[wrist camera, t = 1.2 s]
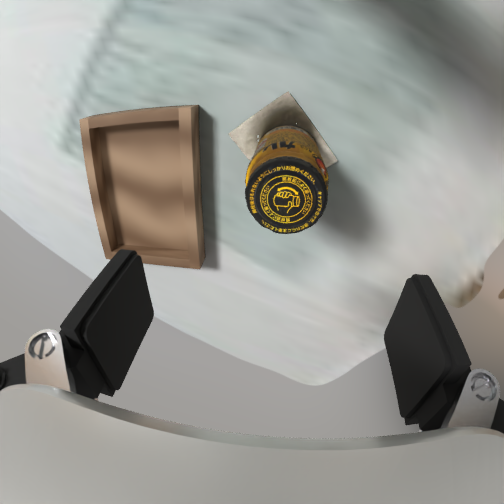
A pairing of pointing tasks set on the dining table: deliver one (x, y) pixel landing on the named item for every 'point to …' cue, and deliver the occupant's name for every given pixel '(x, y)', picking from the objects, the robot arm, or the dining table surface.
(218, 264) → the dining table surface
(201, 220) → the serving tray
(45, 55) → the dining table surface
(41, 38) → the dining table surface
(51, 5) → the dining table surface
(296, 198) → the condiment
